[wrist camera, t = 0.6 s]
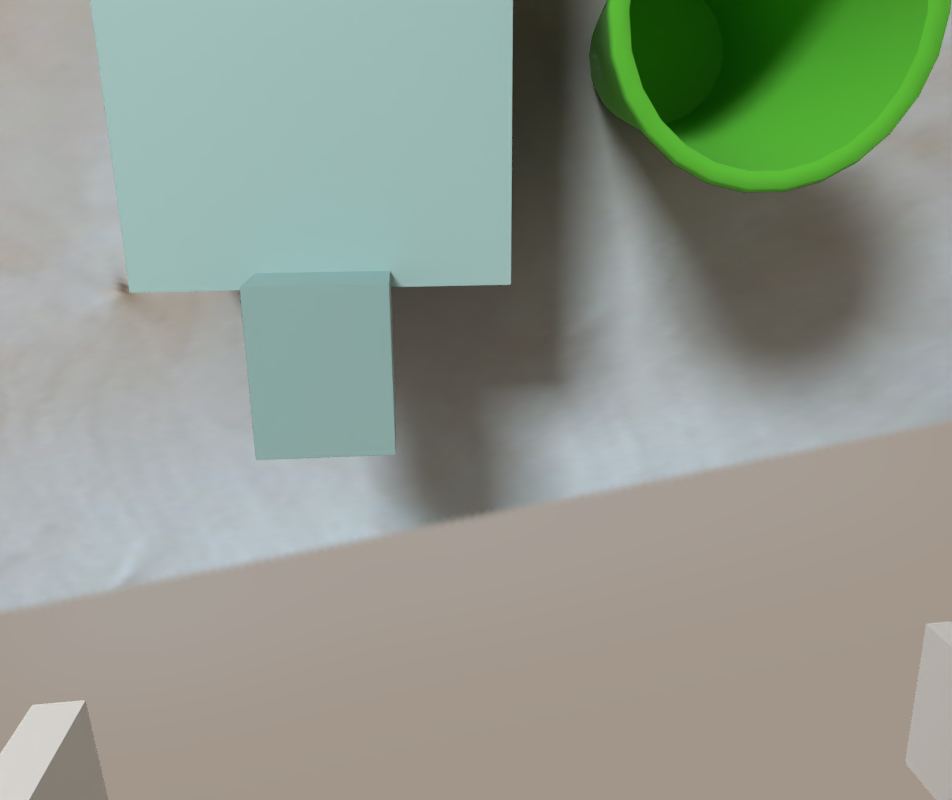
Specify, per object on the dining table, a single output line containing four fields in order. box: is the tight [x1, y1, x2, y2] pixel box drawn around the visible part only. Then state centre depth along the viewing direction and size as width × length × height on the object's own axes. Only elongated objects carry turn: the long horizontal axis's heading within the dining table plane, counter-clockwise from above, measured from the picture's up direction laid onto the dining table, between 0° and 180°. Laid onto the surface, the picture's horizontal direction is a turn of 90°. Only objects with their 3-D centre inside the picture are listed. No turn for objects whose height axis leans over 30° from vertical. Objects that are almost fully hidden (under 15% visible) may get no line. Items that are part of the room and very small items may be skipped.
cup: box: [589, 0, 951, 193], centre depth 26 cm, size 9×9×11 cm
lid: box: [90, 0, 513, 460], centre depth 22 cm, size 21×11×4 cm, turn 0°
